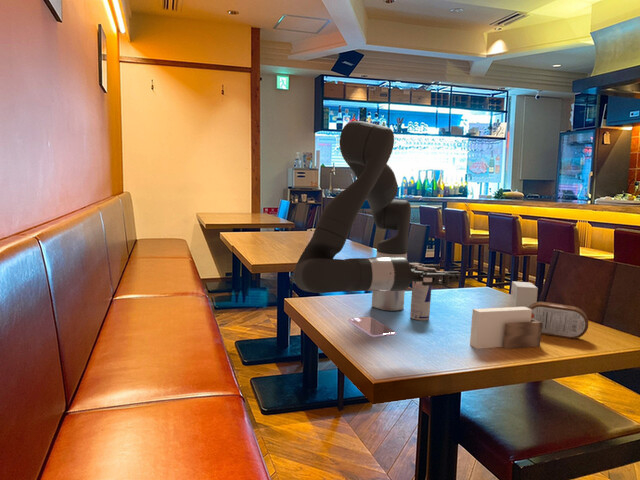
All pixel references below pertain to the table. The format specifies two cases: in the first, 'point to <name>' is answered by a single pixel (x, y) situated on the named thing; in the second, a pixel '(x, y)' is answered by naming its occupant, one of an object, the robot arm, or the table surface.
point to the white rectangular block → (495, 324)
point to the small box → (523, 294)
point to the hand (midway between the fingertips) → (449, 272)
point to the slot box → (522, 334)
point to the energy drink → (420, 302)
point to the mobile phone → (371, 326)
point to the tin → (560, 319)
